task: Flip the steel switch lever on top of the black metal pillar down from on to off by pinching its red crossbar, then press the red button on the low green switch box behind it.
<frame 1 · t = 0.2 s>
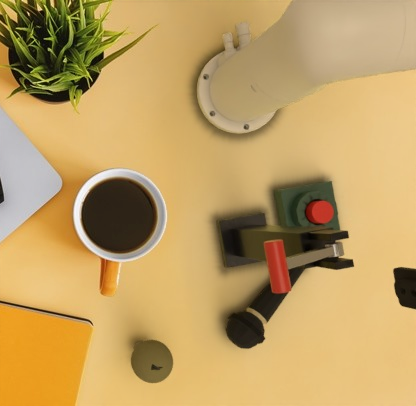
switch lever: (306, 257, 56), point 26 cm above the table, hinge at 25.0°
microphone: (271, 294, 82), on the table
button box: (303, 212, 83), on the table
button: (319, 212, 78), point 5 cm above the table, slide at 0.2 cm
switch pillar: (242, 239, 82), on the table
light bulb: (140, 348, 81), on the table
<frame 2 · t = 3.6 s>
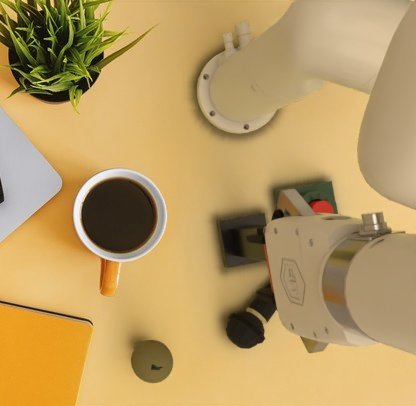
hand: (265, 263, 56), 25 cm above the table, tool pointing down, fingers closed on switch lever, 5 cm apart
switch lever: (306, 257, 56), point 26 cm above the table, hinge at 25.0°, touching gripper
everything else where it was.
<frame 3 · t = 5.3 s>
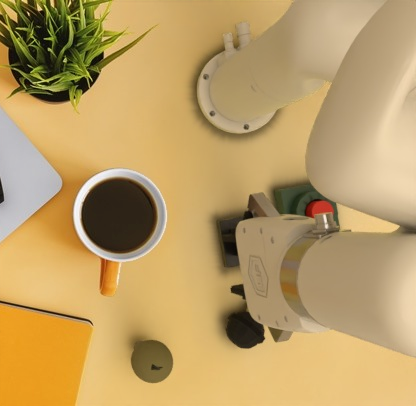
hand: (239, 261, 61), 20 cm above the table, tool pointing down, fingers closed on switch lever, 5 cm apart
switch lever: (293, 256, 58), point 24 cm above the table, hinge at -0.9°, touching gripper
everything else where it was.
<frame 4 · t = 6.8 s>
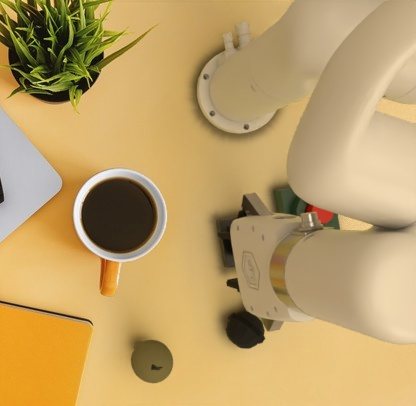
hand: (234, 257, 65), 16 cm above the table, tool pointing down, fingers closed on switch lever, 5 cm apart
switch lever: (288, 254, 60), point 22 cm above the table, hinge at -25.0°, touching gripper
everything else where it was.
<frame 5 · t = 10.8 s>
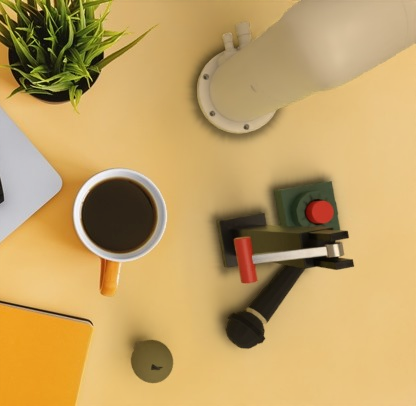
switch lever: (288, 254, 60), point 22 cm above the table, hinge at -25.7°
everything else where it was.
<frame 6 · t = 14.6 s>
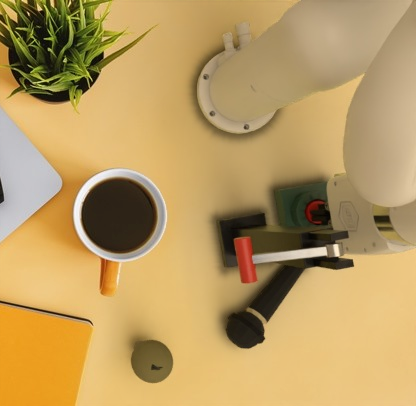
hand: (320, 214, 78), 4 cm above the table, tool pointing down, fingers closed
button: (316, 212, 79), point 4 cm above the table, slide at -0.8 cm, touching gripper
everything else where it was.
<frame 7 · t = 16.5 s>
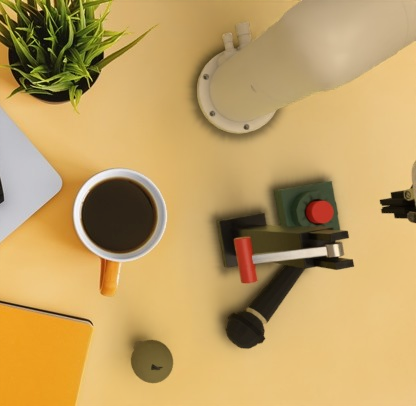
hand: (392, 204, 64), 19 cm above the table, tool pointing down, fingers closed
button: (319, 212, 78), point 5 cm above the table, slide at 0.1 cm
everything else where it was.
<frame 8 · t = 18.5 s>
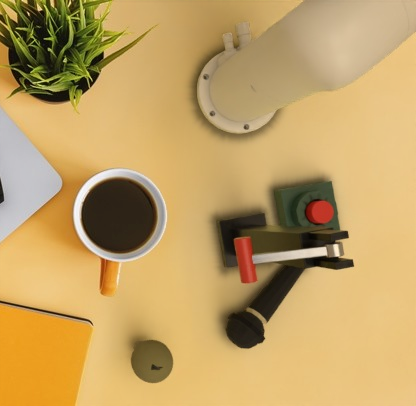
nothing on the table moved.
at the end: switch lever at -26° (first picture: +25°); button pushed in 1.0 cm at the most during the clip, back to where it started at the end; button slide at 0.1 cm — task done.
